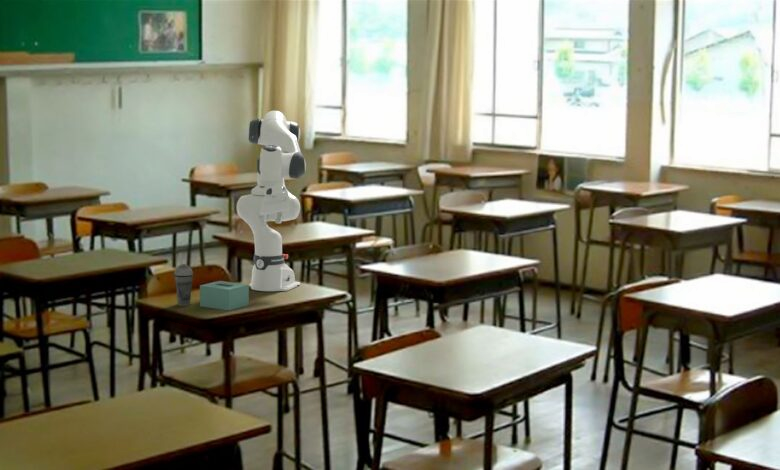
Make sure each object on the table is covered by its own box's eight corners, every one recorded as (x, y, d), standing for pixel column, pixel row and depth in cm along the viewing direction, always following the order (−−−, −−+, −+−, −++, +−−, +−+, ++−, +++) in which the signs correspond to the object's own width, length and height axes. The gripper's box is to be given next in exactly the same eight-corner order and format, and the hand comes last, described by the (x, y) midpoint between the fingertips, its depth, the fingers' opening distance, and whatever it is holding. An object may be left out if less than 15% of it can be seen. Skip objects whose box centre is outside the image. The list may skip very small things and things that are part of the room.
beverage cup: (191, 306, 458) (191, 254, 455) (172, 306, 458) (171, 254, 455) (195, 302, 465) (194, 251, 462) (176, 302, 465) (175, 251, 462)
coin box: (219, 300, 469) (219, 280, 468) (248, 305, 462) (248, 284, 461) (200, 306, 459) (199, 285, 458) (229, 310, 452) (229, 289, 451)
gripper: (280, 185, 467) (280, 221, 469) (248, 190, 449) (248, 227, 451) (293, 186, 464) (293, 222, 466) (262, 191, 446) (262, 228, 448)
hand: (271, 224), depth 459 cm, fingers open, 8 cm apart
